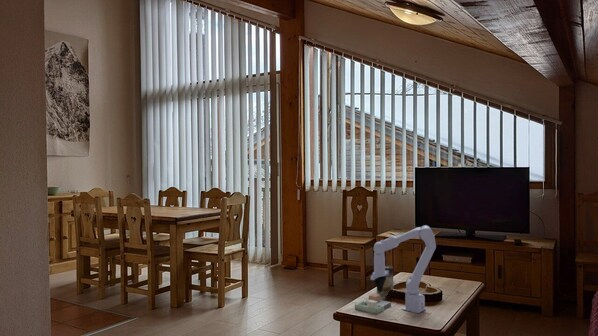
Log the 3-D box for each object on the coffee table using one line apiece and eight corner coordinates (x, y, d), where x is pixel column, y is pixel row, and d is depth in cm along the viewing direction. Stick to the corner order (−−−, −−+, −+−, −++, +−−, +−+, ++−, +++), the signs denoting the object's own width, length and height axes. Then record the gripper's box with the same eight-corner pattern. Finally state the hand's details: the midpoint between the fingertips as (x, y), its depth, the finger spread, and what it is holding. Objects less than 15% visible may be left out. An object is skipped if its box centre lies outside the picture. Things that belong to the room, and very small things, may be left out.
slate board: (390, 306, 267) (390, 302, 267) (382, 310, 261) (382, 306, 261) (372, 302, 274) (372, 298, 274) (364, 305, 268) (364, 302, 268)
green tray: (384, 310, 260) (384, 305, 260) (376, 314, 255) (376, 309, 255) (363, 305, 269) (363, 300, 269) (355, 309, 263) (354, 304, 263)
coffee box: (377, 296, 285) (376, 268, 285) (376, 292, 292) (376, 265, 291) (393, 296, 284) (393, 268, 284) (392, 293, 291) (392, 265, 290)
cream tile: (377, 301, 259) (374, 302, 257) (377, 310, 259) (374, 311, 257) (370, 299, 262) (367, 301, 260) (370, 308, 262) (367, 309, 260)
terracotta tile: (380, 300, 271) (380, 294, 271) (375, 302, 267) (375, 296, 267) (373, 298, 274) (373, 293, 273) (368, 300, 270) (368, 295, 270)
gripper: (380, 261, 271) (380, 286, 272) (365, 266, 260) (365, 292, 261) (391, 263, 267) (392, 288, 267) (377, 268, 256) (377, 295, 256)
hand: (379, 290), depth 264 cm, fingers closed
